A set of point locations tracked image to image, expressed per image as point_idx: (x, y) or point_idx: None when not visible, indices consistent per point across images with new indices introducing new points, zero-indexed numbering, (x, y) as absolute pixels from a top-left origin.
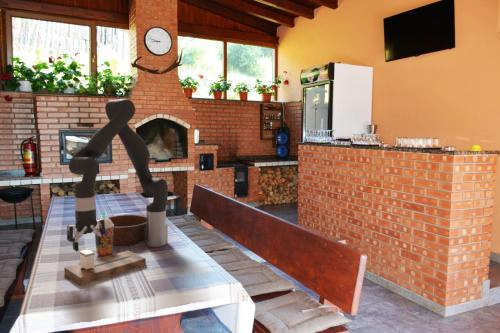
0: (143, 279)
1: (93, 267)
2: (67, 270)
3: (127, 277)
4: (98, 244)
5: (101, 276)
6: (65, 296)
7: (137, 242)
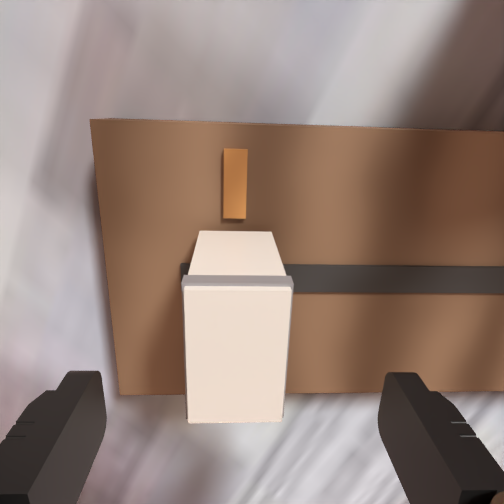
0: None
1: None
2: (100, 187)
3: (374, 429)
4: (387, 446)
5: None
6: None
7: None
